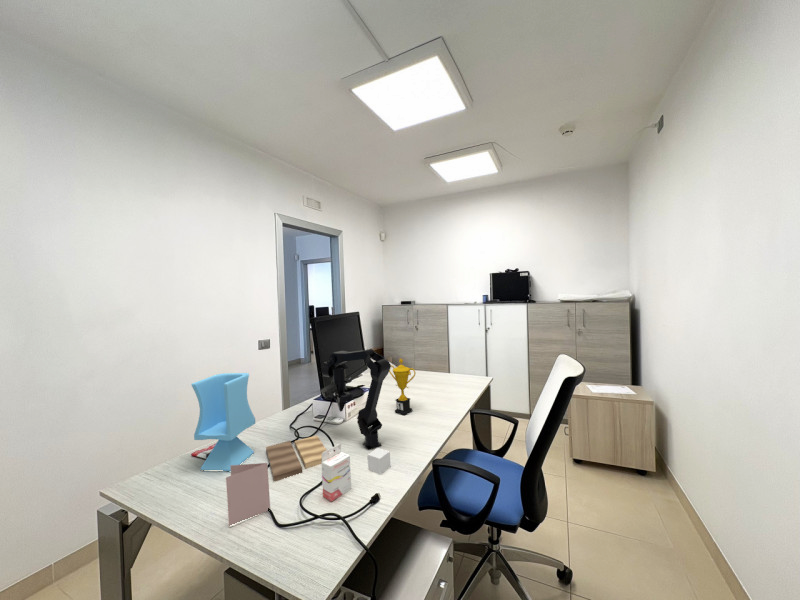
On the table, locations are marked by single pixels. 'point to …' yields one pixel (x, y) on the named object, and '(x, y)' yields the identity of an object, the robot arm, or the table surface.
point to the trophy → (402, 387)
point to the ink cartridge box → (335, 473)
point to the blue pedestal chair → (224, 418)
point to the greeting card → (247, 491)
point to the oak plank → (310, 451)
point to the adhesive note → (379, 460)
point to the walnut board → (283, 460)
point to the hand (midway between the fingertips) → (341, 411)
